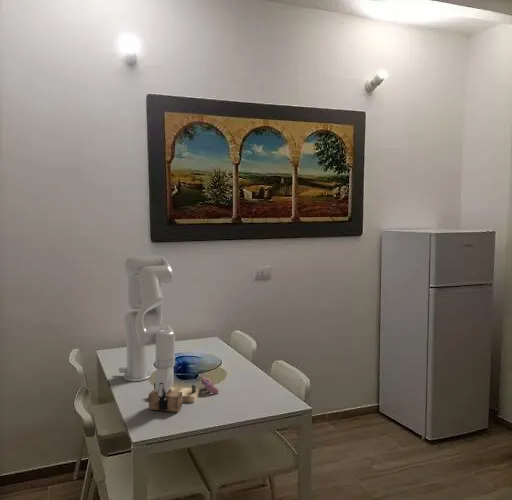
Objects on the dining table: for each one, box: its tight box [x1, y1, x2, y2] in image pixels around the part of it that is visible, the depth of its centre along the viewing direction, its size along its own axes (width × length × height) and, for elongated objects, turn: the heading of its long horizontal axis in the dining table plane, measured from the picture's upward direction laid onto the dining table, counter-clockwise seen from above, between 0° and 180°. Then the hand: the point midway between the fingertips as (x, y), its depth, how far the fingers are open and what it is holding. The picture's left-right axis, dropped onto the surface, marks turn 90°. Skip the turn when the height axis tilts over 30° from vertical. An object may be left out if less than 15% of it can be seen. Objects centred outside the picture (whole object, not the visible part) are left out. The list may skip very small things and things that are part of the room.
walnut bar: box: [148, 389, 183, 413], centre depth 189 cm, size 12×5×6 cm, turn 79°
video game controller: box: [200, 376, 220, 395], centre depth 209 cm, size 10×5×7 cm, turn 21°
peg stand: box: [153, 382, 200, 403], centre depth 202 cm, size 19×9×6 cm, turn 84°
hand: (165, 405), depth 190 cm, fingers closed on walnut bar, 5 cm apart
